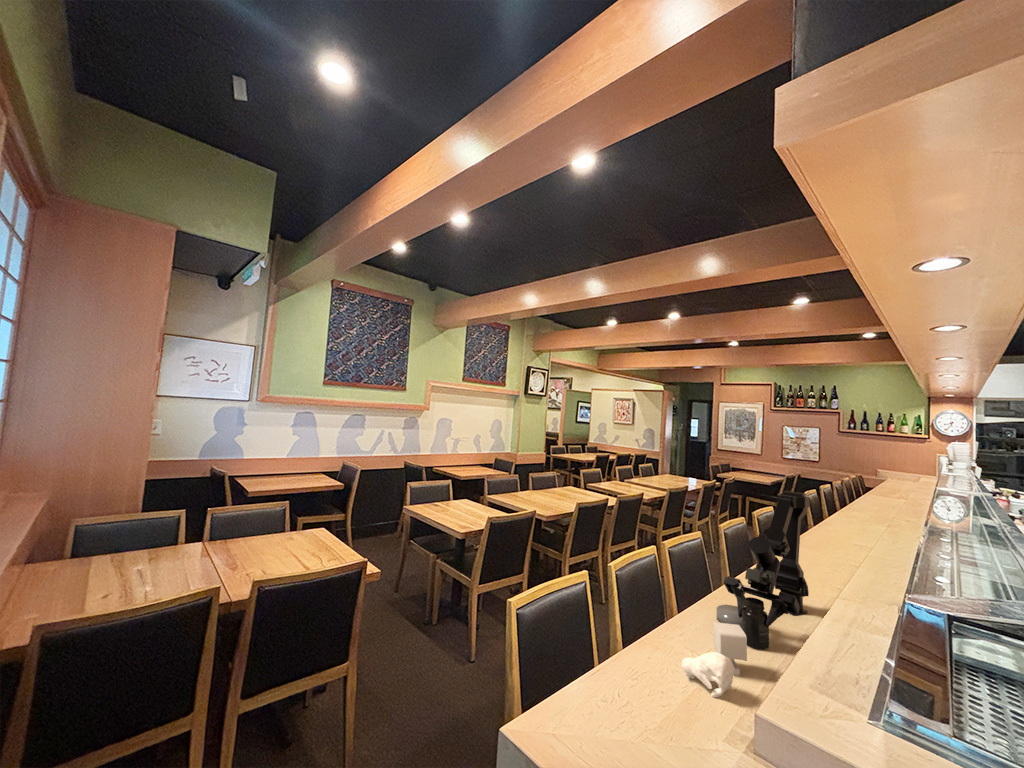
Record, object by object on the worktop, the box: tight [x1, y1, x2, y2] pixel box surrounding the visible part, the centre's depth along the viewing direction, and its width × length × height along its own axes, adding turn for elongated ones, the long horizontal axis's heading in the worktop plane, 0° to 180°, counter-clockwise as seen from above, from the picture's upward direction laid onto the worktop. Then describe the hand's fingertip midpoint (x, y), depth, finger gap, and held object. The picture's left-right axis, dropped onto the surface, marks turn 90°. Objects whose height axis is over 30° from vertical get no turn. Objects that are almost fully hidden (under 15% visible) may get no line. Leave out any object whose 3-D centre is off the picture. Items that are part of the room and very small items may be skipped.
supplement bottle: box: [741, 596, 770, 651], centre depth 120 cm, size 7×7×12 cm
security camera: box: [713, 621, 748, 677], centre depth 108 cm, size 6×7×10 cm
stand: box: [716, 604, 742, 628], centre depth 133 cm, size 10×10×3 cm
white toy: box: [681, 651, 735, 699], centre depth 101 cm, size 6×8×12 cm
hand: (752, 621), depth 119 cm, fingers closed on supplement bottle, 7 cm apart
